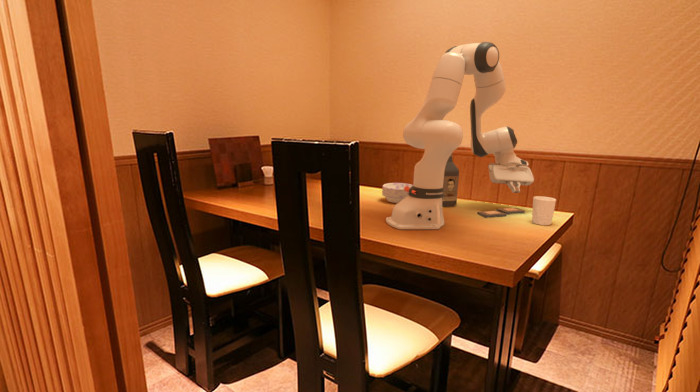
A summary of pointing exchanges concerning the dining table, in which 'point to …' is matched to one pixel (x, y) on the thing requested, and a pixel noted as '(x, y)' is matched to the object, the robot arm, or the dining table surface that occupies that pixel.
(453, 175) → the liquor
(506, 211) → the tile right
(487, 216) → the tile left
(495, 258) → the dining table surface
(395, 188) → the paper bowls
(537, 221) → the white cup
